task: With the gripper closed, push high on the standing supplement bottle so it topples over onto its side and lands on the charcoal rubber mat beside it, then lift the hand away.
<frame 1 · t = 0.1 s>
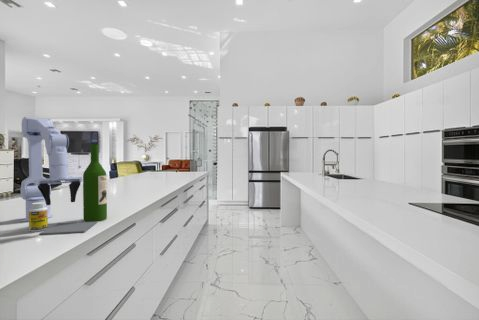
hand: (61, 203, 96), 11 cm above the counter, tool pointing down, fingers open, 7 cm apart
wine bottle: (95, 220, 115), on the counter
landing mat: (70, 228, 101), on the counter
supplement bottle: (38, 230, 99), on the counter
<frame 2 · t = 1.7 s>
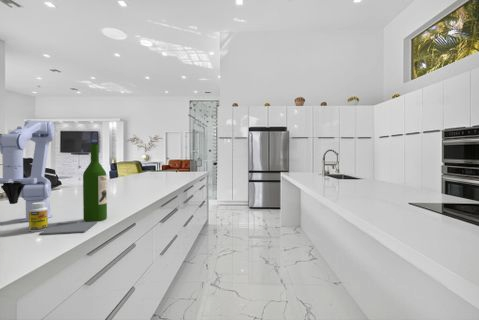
hand: (13, 203, 97), 10 cm above the counter, tool pointing down, fingers closed
nothing on the counter moved.
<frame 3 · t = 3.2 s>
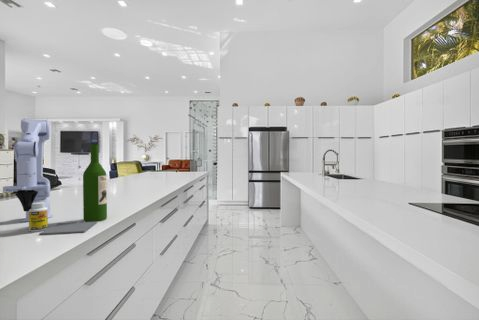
hand: (27, 210, 98), 7 cm above the counter, tool pointing down, fingers closed, pressing on supplement bottle
supplement bottle: (38, 230, 99), on the counter, touching gripper
everything else where it was.
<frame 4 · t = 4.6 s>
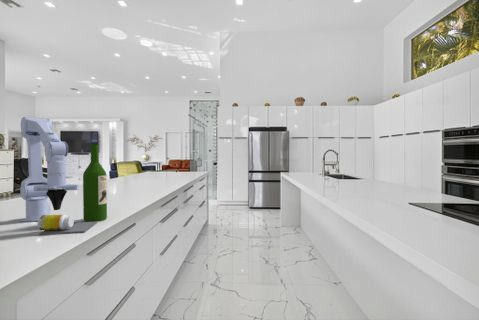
hand: (57, 209, 100), 7 cm above the counter, tool pointing down, fingers closed
supplement bottle: (40, 222, 97), point 3 cm above the counter, touching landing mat
everything else where it was.
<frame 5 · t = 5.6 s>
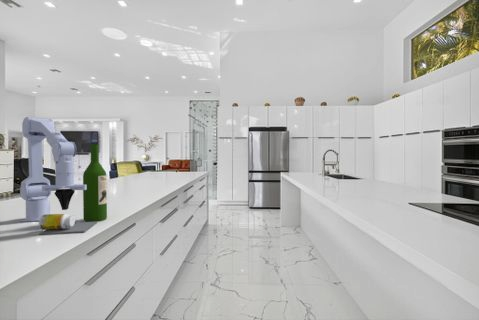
hand: (65, 209, 101), 7 cm above the counter, tool pointing down, fingers closed
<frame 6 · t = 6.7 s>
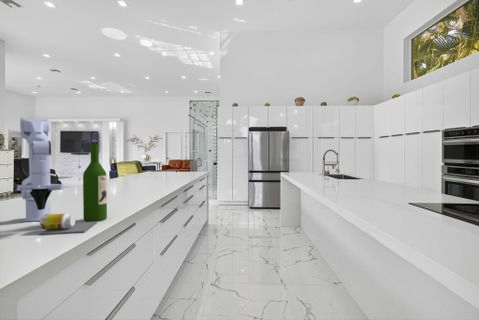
hand: (41, 209, 99), 8 cm above the counter, tool pointing down, fingers closed
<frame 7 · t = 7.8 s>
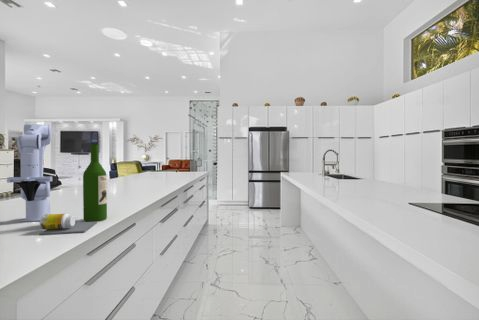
hand: (30, 200, 103), 10 cm above the counter, tool pointing down, fingers closed
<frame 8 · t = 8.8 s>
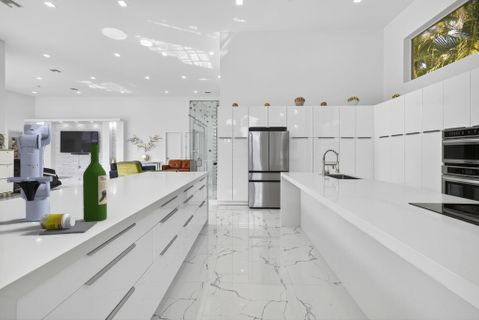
hand: (30, 200, 103), 10 cm above the counter, tool pointing down, fingers closed
at the end: supplement bottle tilted 90°; supplement bottle inside the target area (7.5 cm from its centre), point 3.3 cm above the counter; wine bottle moved 0.2 cm from its start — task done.
